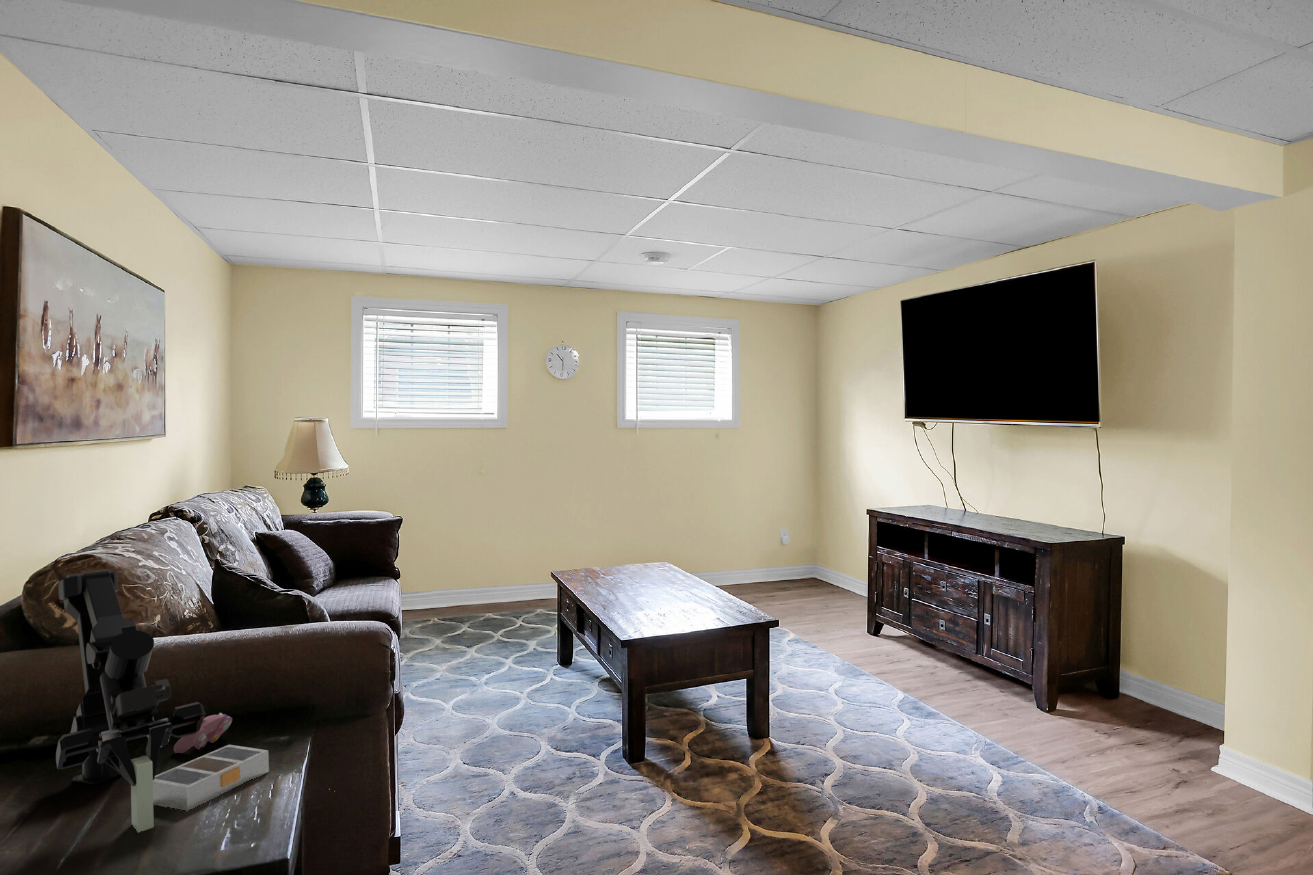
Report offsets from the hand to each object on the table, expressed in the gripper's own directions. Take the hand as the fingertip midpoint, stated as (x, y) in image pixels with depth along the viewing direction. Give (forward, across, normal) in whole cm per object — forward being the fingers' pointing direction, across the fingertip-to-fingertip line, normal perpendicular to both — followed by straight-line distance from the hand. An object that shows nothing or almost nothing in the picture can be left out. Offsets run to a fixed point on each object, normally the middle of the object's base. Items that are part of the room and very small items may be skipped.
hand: (143, 781), depth 108 cm
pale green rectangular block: (+4, 0, +6) cm, 7 cm away
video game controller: (-17, +16, +27) cm, 36 cm away
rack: (-1, +11, +11) cm, 16 cm away
